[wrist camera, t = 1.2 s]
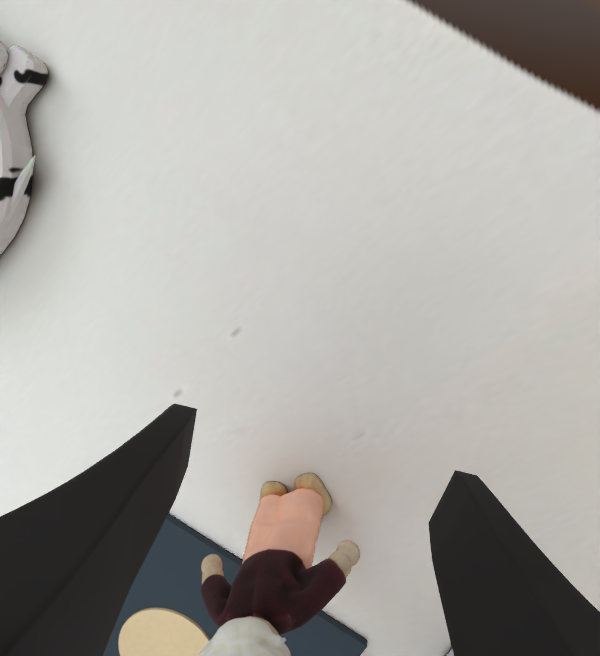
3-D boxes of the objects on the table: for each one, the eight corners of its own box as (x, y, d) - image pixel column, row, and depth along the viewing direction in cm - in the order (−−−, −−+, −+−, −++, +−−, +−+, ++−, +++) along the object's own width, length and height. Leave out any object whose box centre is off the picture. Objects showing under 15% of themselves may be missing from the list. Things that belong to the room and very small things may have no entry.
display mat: (367, 639, 27) (367, 650, 26) (237, 806, 31) (234, 819, 31) (96, 467, 28) (89, 473, 27) (9, 651, 33) (1, 660, 32)
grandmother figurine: (261, 544, 27) (160, 795, 15) (232, 491, 27) (105, 701, 14) (375, 504, 25) (370, 752, 13) (346, 446, 25) (311, 643, 12)
